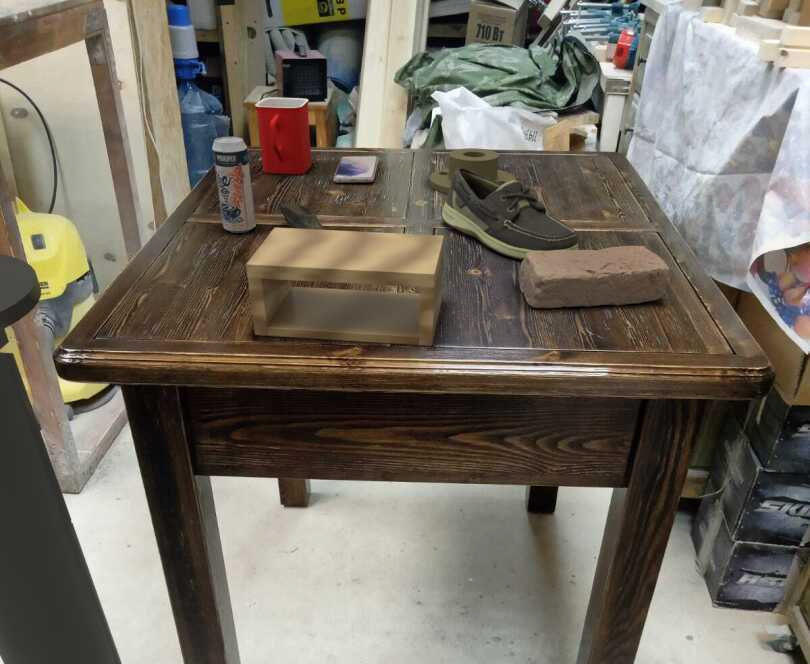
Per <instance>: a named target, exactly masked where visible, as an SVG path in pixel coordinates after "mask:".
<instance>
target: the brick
mask: <svg viewBox="0 0 810 664" xmlns="http://www.w3.org/2000/svg"><path fill="white" fill-rule="evenodd" d="M669 272H670V267H669V266H668V264H667V263H666V262H665V260H664V259H662V258H661V257H660V256H659V255H657V254H656V253H654V252H652V250H650V249H648V248H647V247H646V246H645V245H623V246H622V245H620V246H619V245H618V246H610V247H606V248H600V249H597V250H595V249H589V250H588V249H578V250H573V251H572V250H552V251H548V252H546V251H541V252H528V253H526V254H525V255H524V260H522V261H521V263H520V267H519V273H518V274H519V275H518V280H519V290H520V291H521V292H520V293H521V294H524V295H523V296H524V297H525V301H526V303H527V304H528V305H529V306H530V307H531V308H535V309H554V308H563V307H565V308H571V307H575V308H576V307H577V308H578V307H595V306H596V307H597V306H601V305H602V306H622V305H623V306H624V305H630V304H641V303H646V302H650V301H656V300H659V299H661V298H662V297H663V295H664V294H665V293H666V288H667V285H668V280H669V277H668V275H669Z"/></svg>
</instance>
